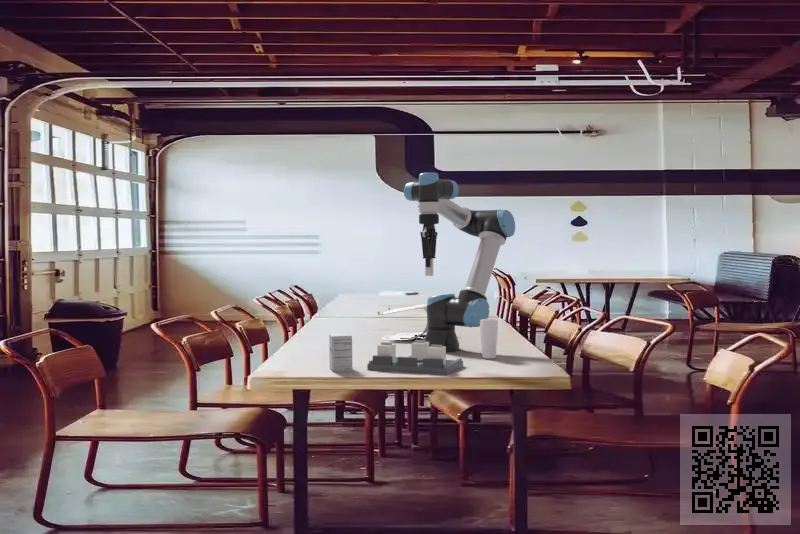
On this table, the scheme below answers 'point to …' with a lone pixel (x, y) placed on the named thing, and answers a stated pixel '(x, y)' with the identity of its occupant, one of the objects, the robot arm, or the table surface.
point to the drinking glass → (489, 337)
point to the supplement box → (340, 352)
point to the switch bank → (414, 365)
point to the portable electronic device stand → (406, 310)
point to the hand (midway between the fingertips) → (429, 275)
